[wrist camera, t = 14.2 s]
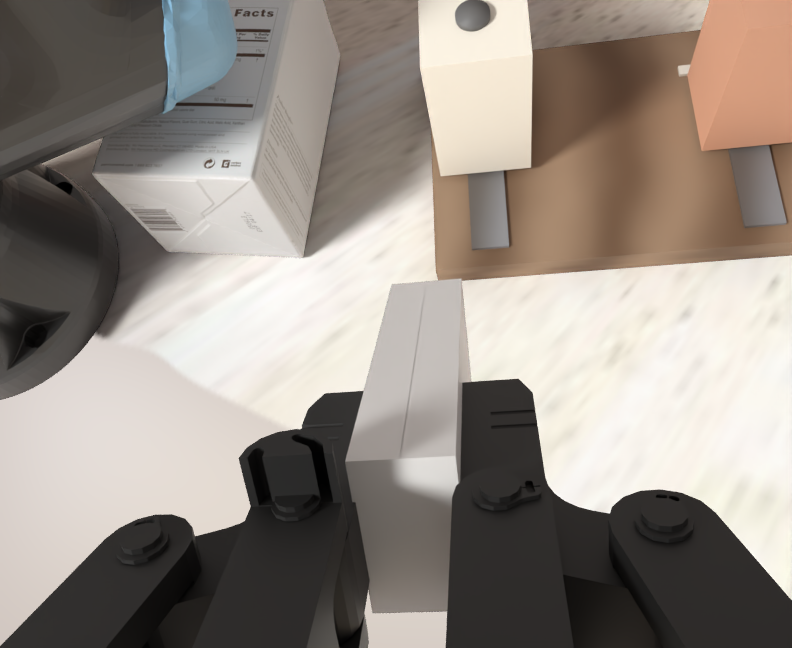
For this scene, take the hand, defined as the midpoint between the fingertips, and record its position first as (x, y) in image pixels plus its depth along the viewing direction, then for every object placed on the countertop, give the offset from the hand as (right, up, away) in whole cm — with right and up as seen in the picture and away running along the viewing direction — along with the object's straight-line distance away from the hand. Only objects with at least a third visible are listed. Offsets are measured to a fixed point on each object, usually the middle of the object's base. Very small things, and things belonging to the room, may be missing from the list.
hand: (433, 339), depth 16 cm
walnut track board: (+11, +10, +27) cm, 31 cm away
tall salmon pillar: (+18, +12, +24) cm, 32 cm away
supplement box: (-11, +6, +24) cm, 27 cm away
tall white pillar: (+4, +11, +26) cm, 29 cm away
